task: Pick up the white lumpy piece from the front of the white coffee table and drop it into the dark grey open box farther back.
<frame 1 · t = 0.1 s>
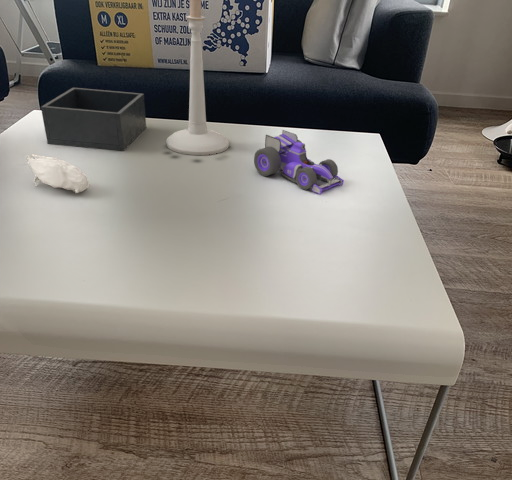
toy race car: (299, 178, 101), on the table
dark grey open box: (99, 135, 114), on the table
candlestick: (197, 145, 112), on the table
white lumpy piece: (63, 189, 92), on the table
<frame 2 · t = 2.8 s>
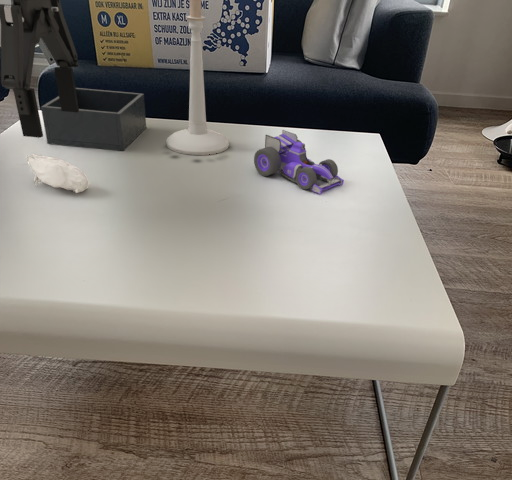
hand: (53, 123, 85), 11 cm above the table, tool pointing down, fingers open, 13 cm apart
nothing on the table moved.
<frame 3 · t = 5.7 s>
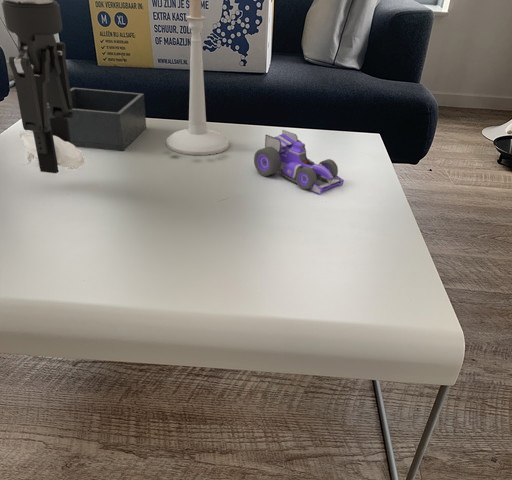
hand: (57, 164, 89), 4 cm above the table, tool pointing down, fingers closed on white lumpy piece, 5 cm apart
white lumpy piece: (58, 166, 90), point 3 cm above the table, touching gripper
everything else where it was.
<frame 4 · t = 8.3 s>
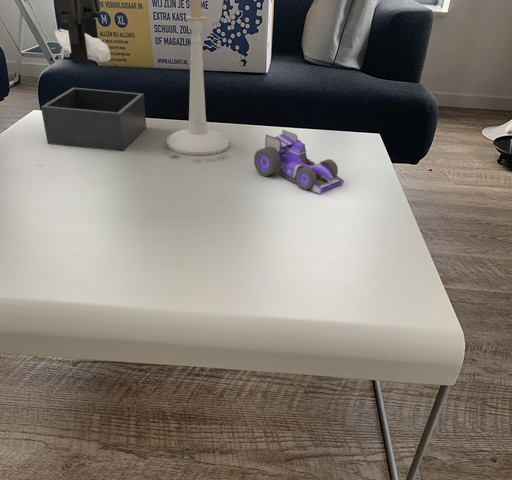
hand: (86, 59, 103), 15 cm above the table, tool pointing down, fingers closed on white lumpy piece, 5 cm apart
white lumpy piece: (87, 62, 103), point 14 cm above the table, touching gripper
everything else where it was.
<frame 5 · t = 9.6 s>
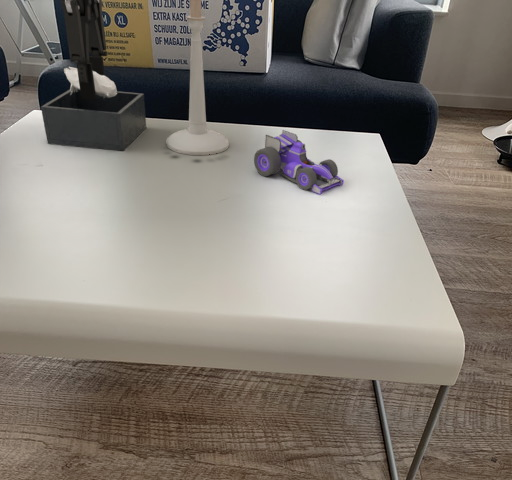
hand: (94, 95, 109), 8 cm above the table, tool pointing down, fingers closed on white lumpy piece, 5 cm apart
white lumpy piece: (94, 97, 110), point 7 cm above the table, touching gripper
everything else where it was.
when the fingers open (5 cm above the table, at t = 10.8 s): white lumpy piece drops 3 cm, resting on dark grey open box.
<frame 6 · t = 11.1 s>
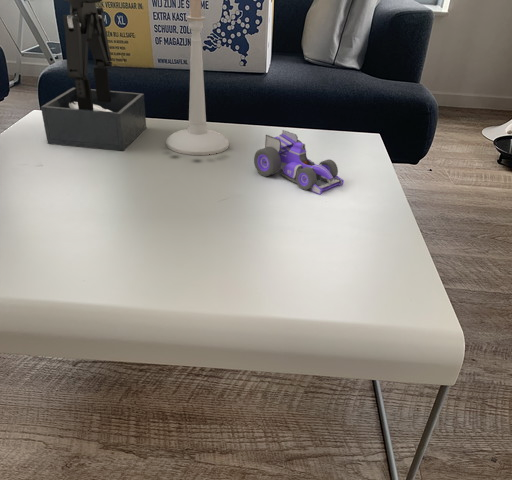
hand: (95, 107, 110), 6 cm above the table, tool pointing down, fingers open, 9 cm apart
white lumpy piece: (99, 130, 114), point 1 cm above the table, touching dark grey open box
everything else where it was.
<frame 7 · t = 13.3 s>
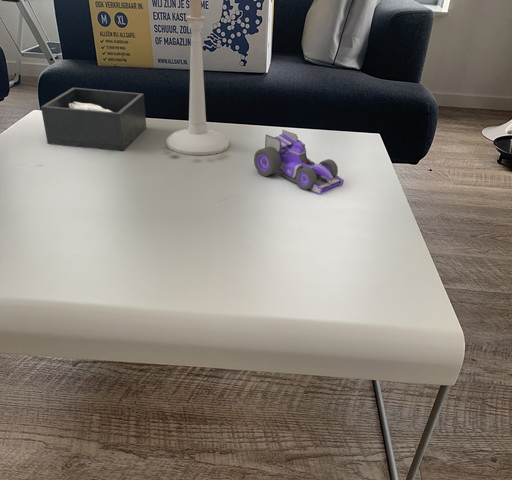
nothing on the table moved.
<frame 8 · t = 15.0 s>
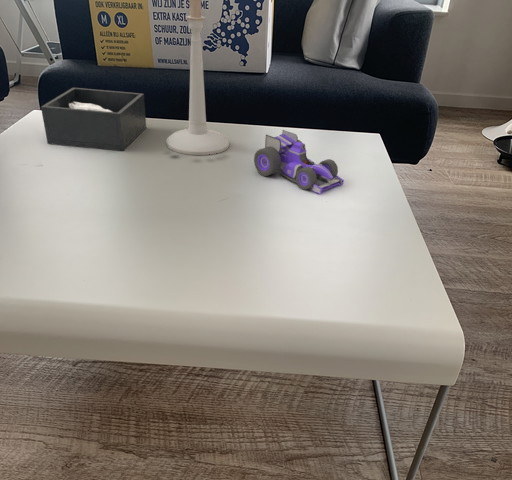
nothing on the table moved.
at the end: white lumpy piece inside the target area in the dark grey open box (0.8 cm from its centre), point 0.8 cm above the dark grey open box's base; the gripper is holding nothing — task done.
